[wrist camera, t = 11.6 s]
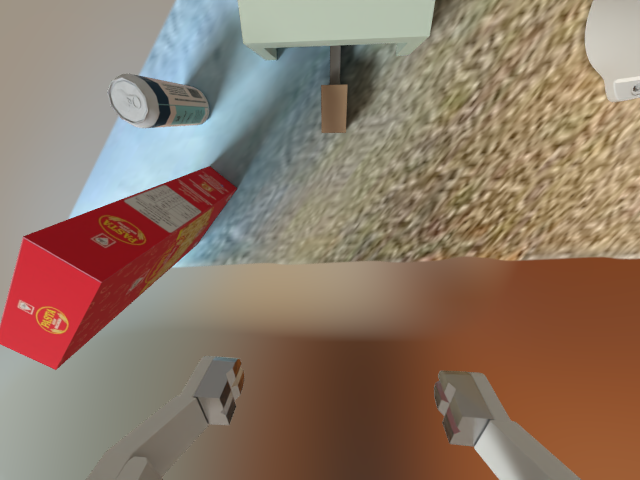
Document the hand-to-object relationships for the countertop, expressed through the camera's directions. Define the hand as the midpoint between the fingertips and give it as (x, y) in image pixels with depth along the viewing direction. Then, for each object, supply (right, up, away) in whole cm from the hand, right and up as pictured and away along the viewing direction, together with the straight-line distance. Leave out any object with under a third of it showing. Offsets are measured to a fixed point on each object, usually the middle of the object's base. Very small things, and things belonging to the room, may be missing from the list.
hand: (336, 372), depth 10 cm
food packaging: (-21, +11, +32) cm, 40 cm away
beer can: (-19, +25, +24) cm, 39 cm away
